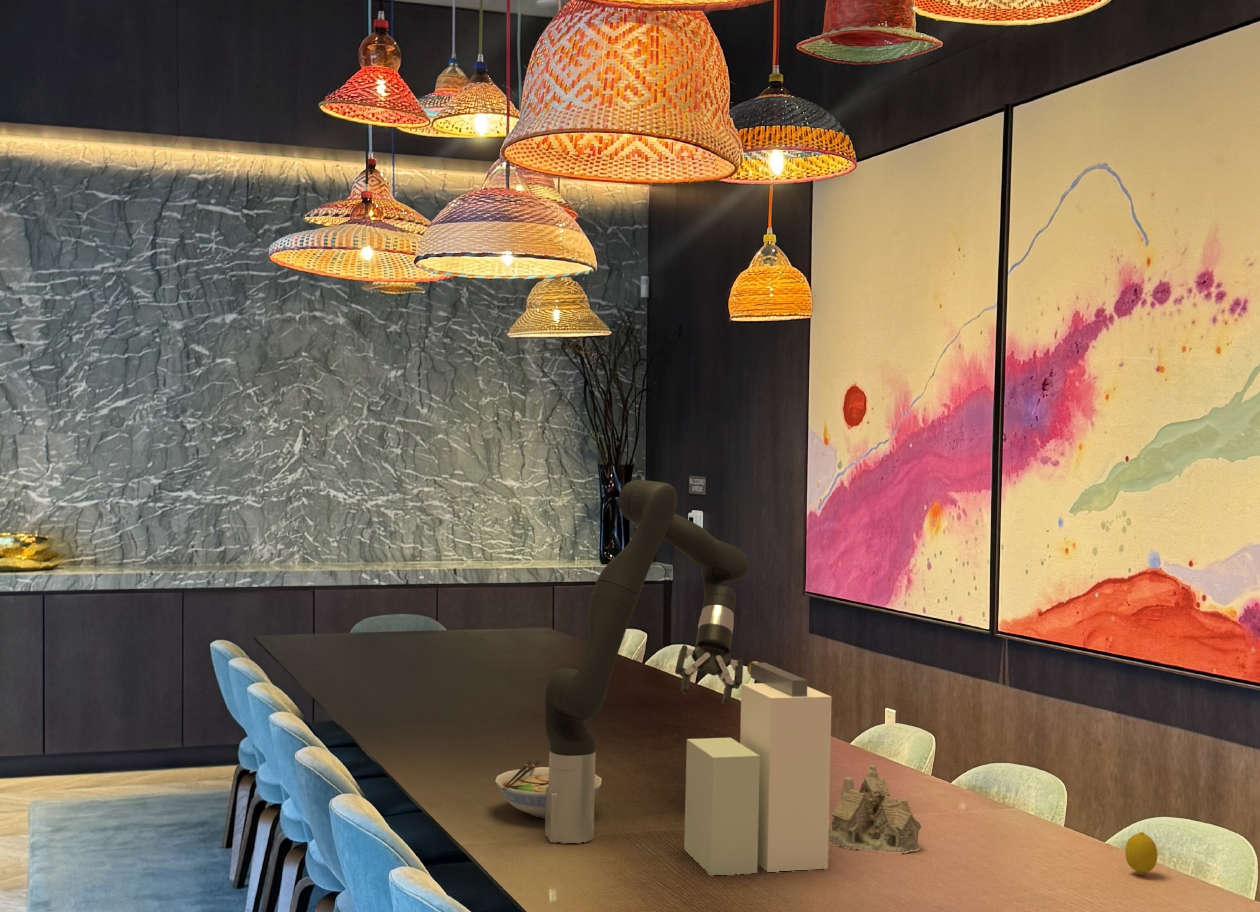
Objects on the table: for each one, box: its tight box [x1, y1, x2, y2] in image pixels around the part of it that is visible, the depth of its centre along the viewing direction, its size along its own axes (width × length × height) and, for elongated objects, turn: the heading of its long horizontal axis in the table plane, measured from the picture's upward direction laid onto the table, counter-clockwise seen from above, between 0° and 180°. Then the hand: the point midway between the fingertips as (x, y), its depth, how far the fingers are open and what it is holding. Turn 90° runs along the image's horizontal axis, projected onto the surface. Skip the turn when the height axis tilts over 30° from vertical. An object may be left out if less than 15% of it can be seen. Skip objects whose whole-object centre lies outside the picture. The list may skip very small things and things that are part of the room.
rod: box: [746, 660, 808, 697], centre depth 242 cm, size 3×24×3 cm, turn 15°
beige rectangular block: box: [683, 737, 760, 877], centre depth 234 cm, size 9×16×22 cm, turn 15°
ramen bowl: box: [494, 759, 602, 819], centre depth 264 cm, size 25×23×8 cm
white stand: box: [739, 682, 833, 873], centre depth 237 cm, size 12×16×32 cm
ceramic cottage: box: [829, 764, 922, 852], centre depth 248 cm, size 16×16×15 cm
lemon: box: [1124, 831, 1158, 876], centre depth 232 cm, size 6×6×8 cm
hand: (705, 698), depth 261 cm, fingers open, 8 cm apart
